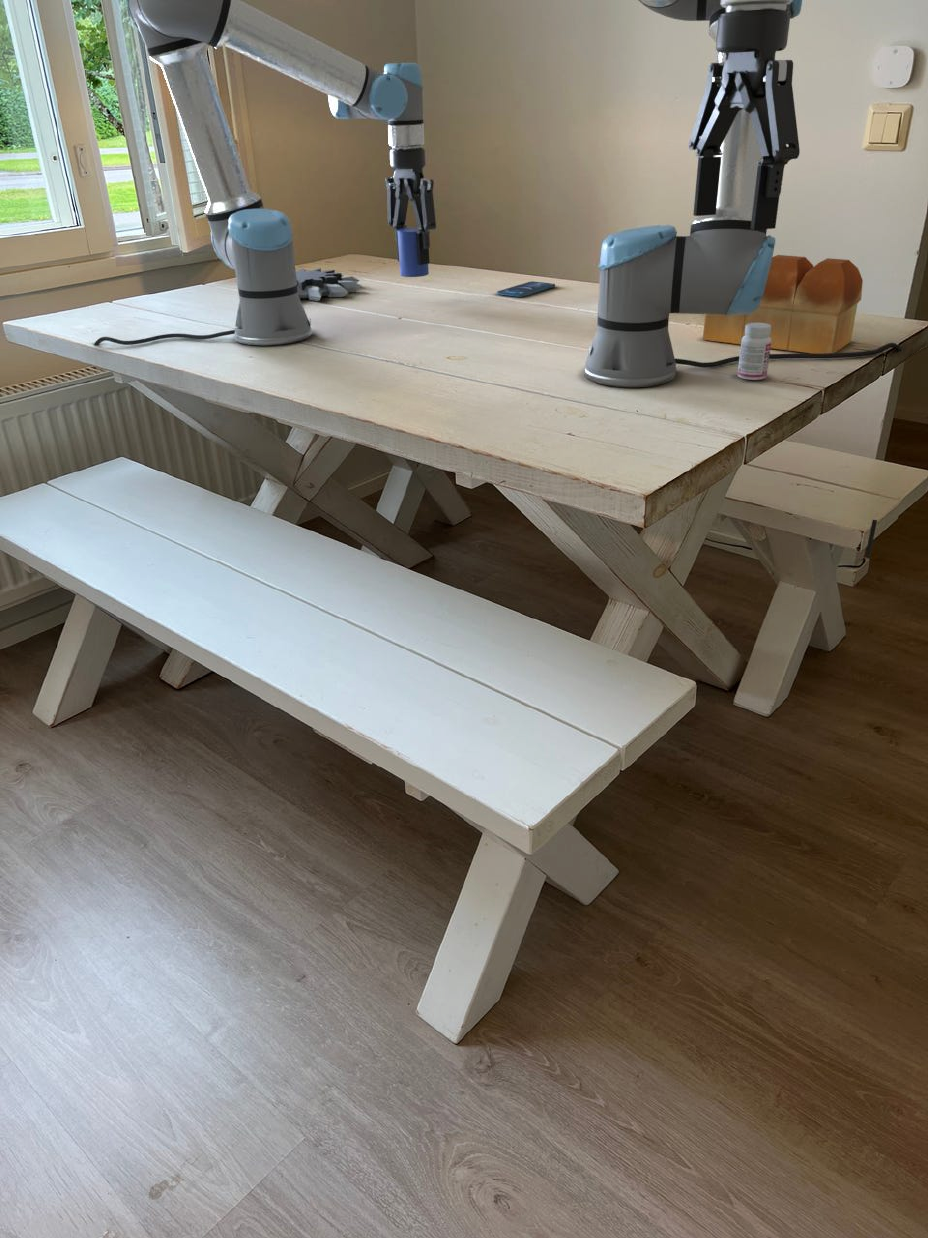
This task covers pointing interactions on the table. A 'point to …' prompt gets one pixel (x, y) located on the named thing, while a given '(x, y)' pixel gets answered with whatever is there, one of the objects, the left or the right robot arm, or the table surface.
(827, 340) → the bread
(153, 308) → the table surface
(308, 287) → the decorative piece
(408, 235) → the canister
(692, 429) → the table surface
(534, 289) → the smartphone
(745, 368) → the pill bottle
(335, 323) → the table surface
